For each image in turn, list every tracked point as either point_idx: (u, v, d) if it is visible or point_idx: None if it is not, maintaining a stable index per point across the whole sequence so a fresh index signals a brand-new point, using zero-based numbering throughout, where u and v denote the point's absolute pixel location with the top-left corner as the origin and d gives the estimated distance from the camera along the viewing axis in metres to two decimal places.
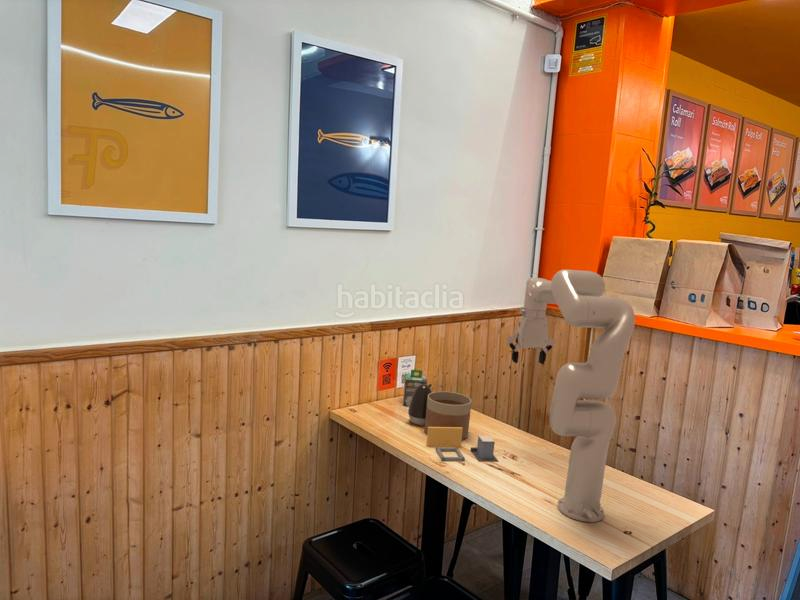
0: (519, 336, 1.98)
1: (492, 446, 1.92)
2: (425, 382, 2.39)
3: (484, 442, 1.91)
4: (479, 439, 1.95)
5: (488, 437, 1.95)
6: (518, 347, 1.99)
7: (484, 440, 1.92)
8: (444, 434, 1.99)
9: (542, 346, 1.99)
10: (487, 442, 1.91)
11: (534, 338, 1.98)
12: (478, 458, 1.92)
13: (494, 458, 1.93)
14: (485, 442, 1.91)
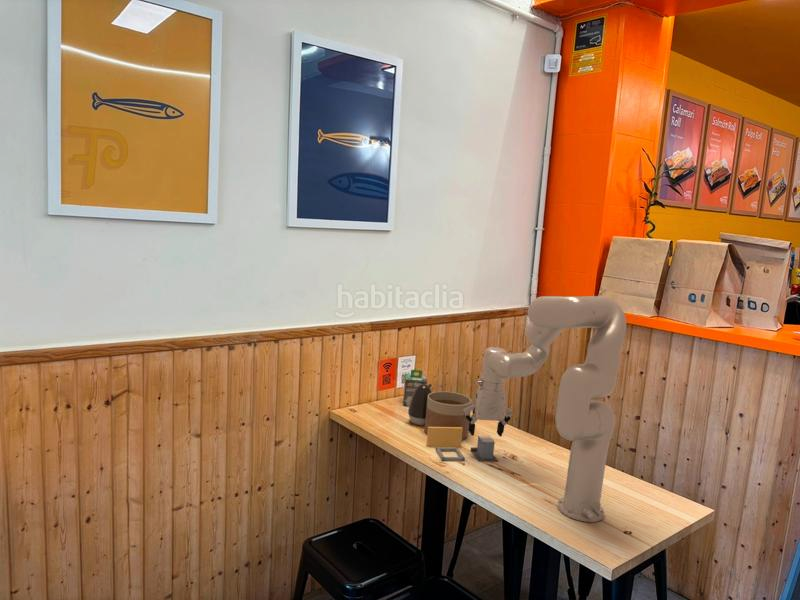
0: (476, 408, 1.90)
1: (492, 446, 1.92)
2: (425, 382, 2.39)
3: (484, 442, 1.91)
4: (479, 439, 1.95)
5: (488, 437, 1.95)
6: (475, 419, 1.91)
7: (484, 440, 1.92)
8: (444, 434, 1.99)
9: (500, 419, 1.91)
10: (487, 442, 1.91)
11: (491, 411, 1.90)
12: (478, 458, 1.92)
13: (494, 458, 1.93)
14: (485, 442, 1.91)
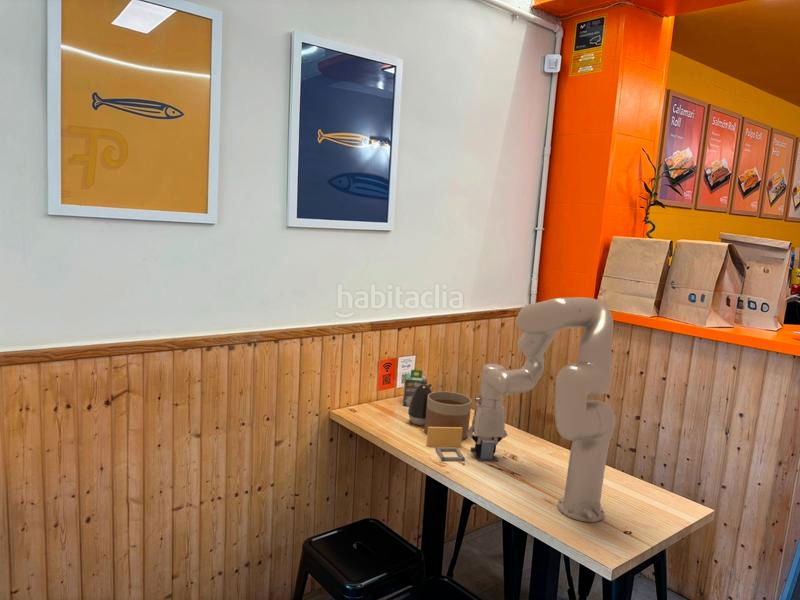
0: (475, 425, 1.90)
1: (492, 446, 1.92)
2: (425, 382, 2.39)
3: (484, 442, 1.91)
4: None
5: (488, 437, 1.95)
6: (479, 439, 1.92)
7: (484, 440, 1.92)
8: (444, 434, 1.99)
9: (499, 435, 1.91)
10: (487, 442, 1.91)
11: (490, 427, 1.90)
12: (478, 458, 1.92)
13: (494, 458, 1.93)
14: (485, 442, 1.91)
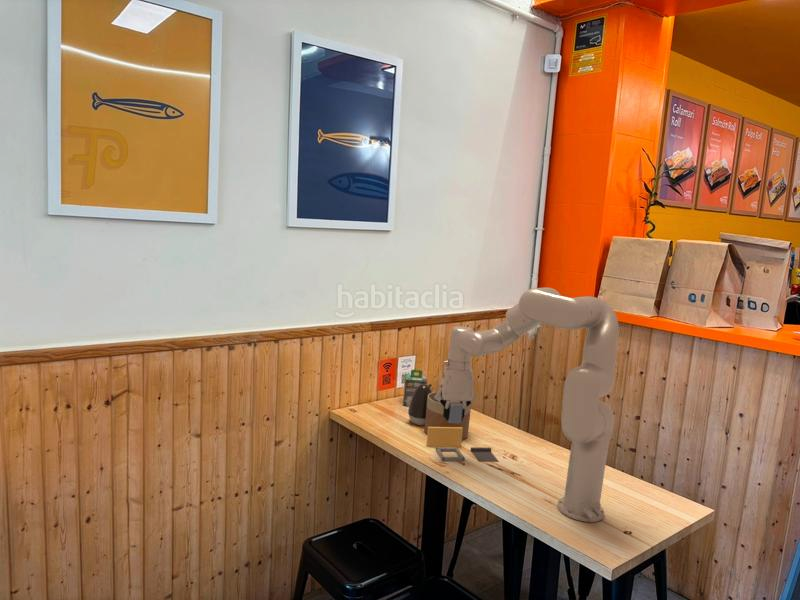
0: (443, 389, 1.86)
1: (460, 410, 1.88)
2: (425, 382, 2.39)
3: (452, 406, 1.87)
4: None
5: (457, 401, 1.91)
6: (447, 403, 1.88)
7: (452, 403, 1.88)
8: (444, 434, 1.99)
9: (467, 399, 1.87)
10: (455, 406, 1.87)
11: (458, 391, 1.86)
12: (478, 458, 1.92)
13: (494, 458, 1.93)
14: (453, 405, 1.87)
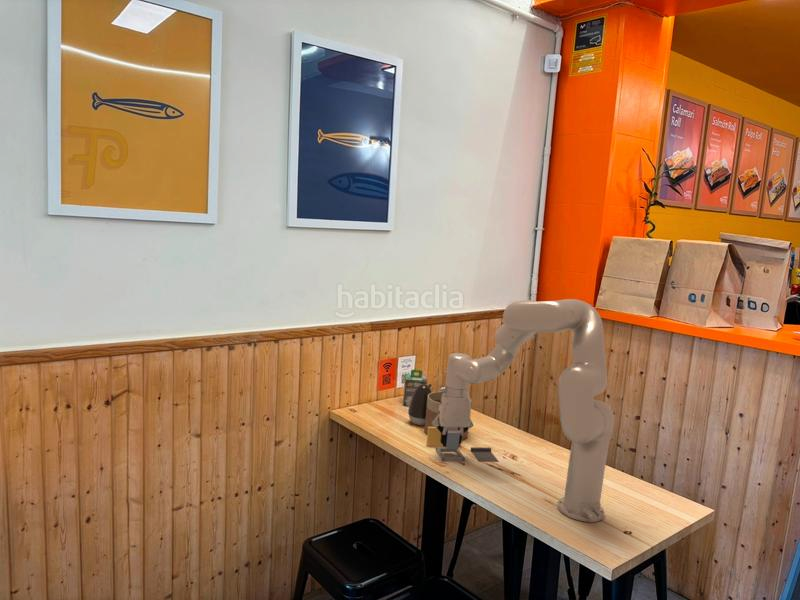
0: (440, 415, 1.88)
1: (457, 436, 1.89)
2: (425, 382, 2.39)
3: (449, 432, 1.88)
4: None
5: (454, 427, 1.92)
6: (445, 429, 1.89)
7: (449, 430, 1.89)
8: None
9: (464, 425, 1.89)
10: (453, 432, 1.89)
11: (456, 417, 1.88)
12: (478, 458, 1.92)
13: (494, 458, 1.93)
14: (450, 432, 1.88)
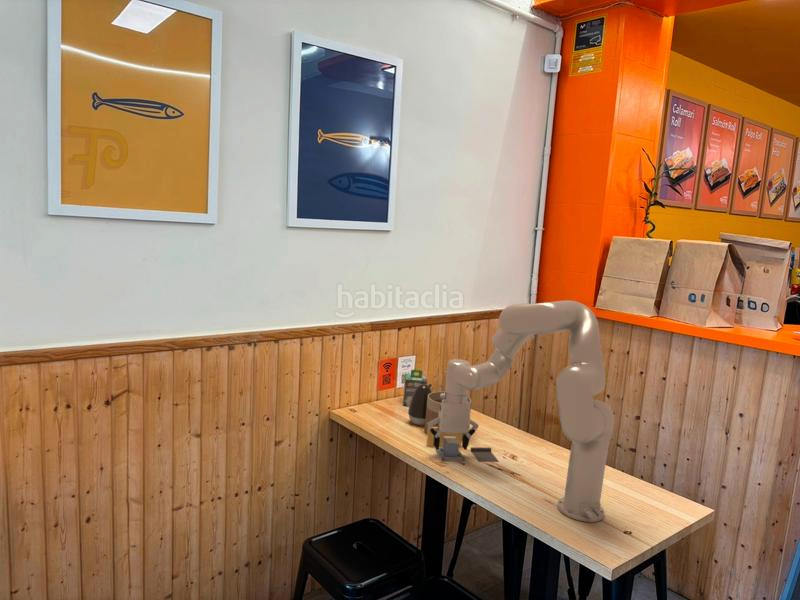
0: (439, 421, 1.88)
1: (457, 447, 1.89)
2: (425, 382, 2.39)
3: (448, 443, 1.89)
4: (444, 440, 1.93)
5: (453, 438, 1.92)
6: (439, 433, 1.89)
7: (449, 440, 1.90)
8: (444, 434, 1.99)
9: (464, 431, 1.89)
10: (452, 443, 1.89)
11: (455, 423, 1.88)
12: (478, 458, 1.92)
13: (494, 458, 1.93)
14: (449, 443, 1.89)
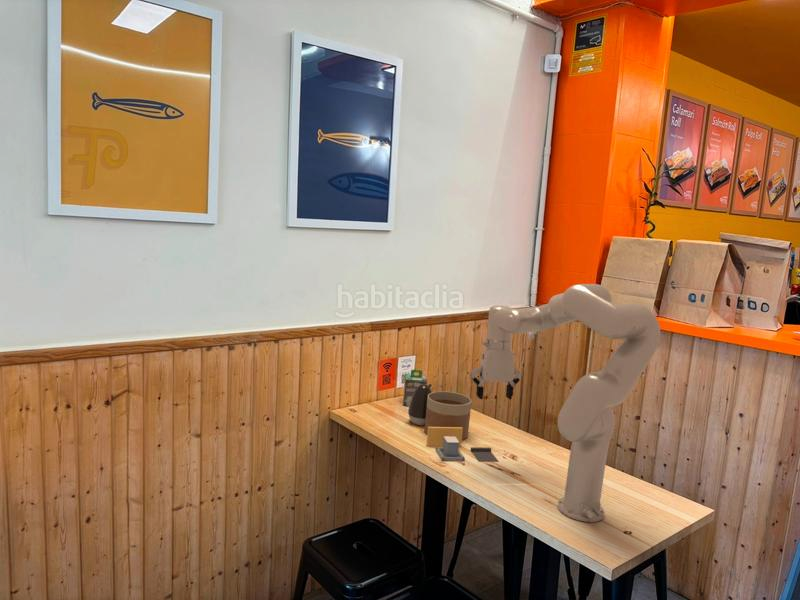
0: (483, 370, 1.82)
1: (457, 447, 1.89)
2: (425, 382, 2.39)
3: (448, 443, 1.89)
4: (444, 440, 1.93)
5: (453, 438, 1.92)
6: (483, 382, 1.83)
7: (449, 440, 1.90)
8: (444, 434, 1.99)
9: (508, 380, 1.83)
10: (452, 443, 1.89)
11: (499, 371, 1.82)
12: (478, 458, 1.92)
13: (494, 458, 1.93)
14: (449, 443, 1.89)
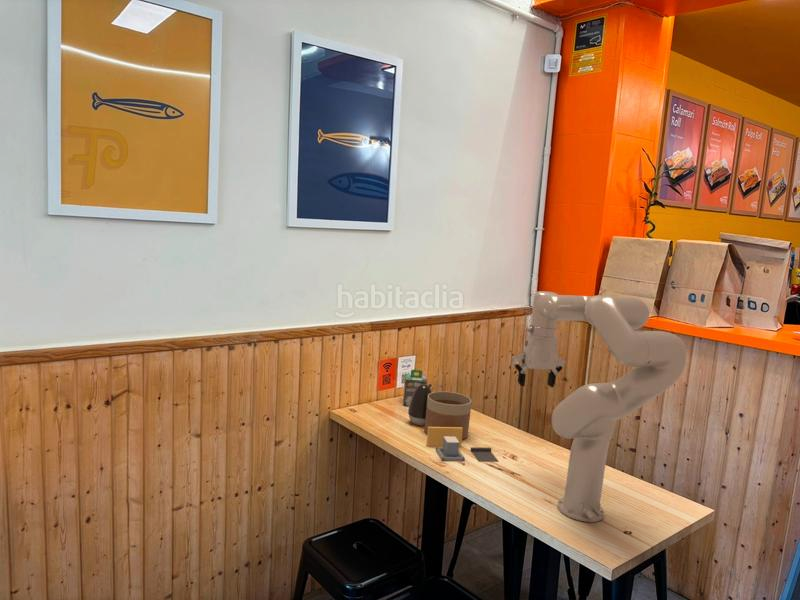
0: (526, 356, 1.78)
1: (457, 447, 1.89)
2: (425, 382, 2.39)
3: (448, 443, 1.89)
4: (444, 440, 1.93)
5: (453, 438, 1.92)
6: (525, 369, 1.79)
7: (448, 440, 1.90)
8: (444, 434, 1.99)
9: (552, 367, 1.79)
10: (452, 443, 1.89)
11: (543, 359, 1.78)
12: (478, 458, 1.92)
13: (494, 458, 1.93)
14: (449, 443, 1.89)
